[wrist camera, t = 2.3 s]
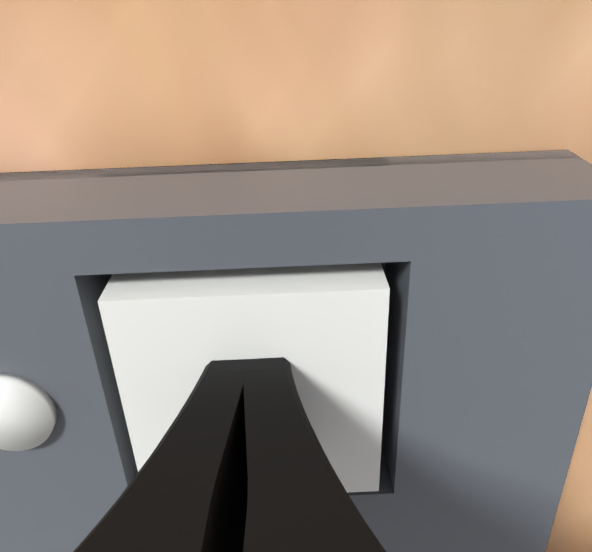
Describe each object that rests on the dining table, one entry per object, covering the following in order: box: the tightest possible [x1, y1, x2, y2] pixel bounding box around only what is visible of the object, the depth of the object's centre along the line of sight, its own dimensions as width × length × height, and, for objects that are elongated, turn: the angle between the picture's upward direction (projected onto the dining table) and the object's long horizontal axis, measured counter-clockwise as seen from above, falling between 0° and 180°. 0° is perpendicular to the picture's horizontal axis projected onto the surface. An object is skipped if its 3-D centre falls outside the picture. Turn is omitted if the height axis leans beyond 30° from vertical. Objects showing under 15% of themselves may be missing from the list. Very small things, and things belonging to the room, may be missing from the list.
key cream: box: [98, 263, 390, 492], centre depth 11 cm, size 4×4×2 cm
